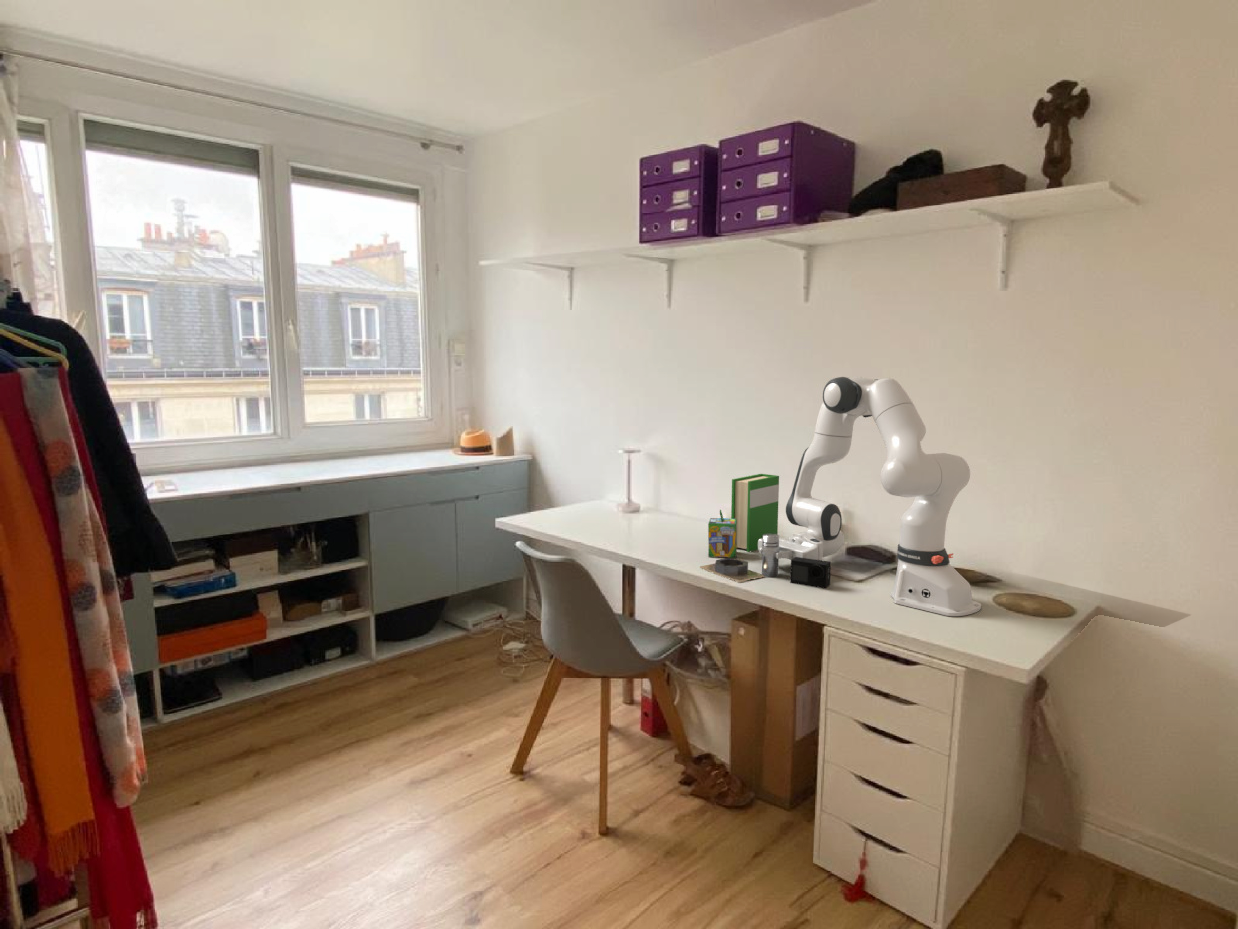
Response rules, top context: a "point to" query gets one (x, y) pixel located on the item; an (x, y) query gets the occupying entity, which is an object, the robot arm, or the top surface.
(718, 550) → the chalk box
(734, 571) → the ring board
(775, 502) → the hardback book
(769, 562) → the piston
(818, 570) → the digital camera
